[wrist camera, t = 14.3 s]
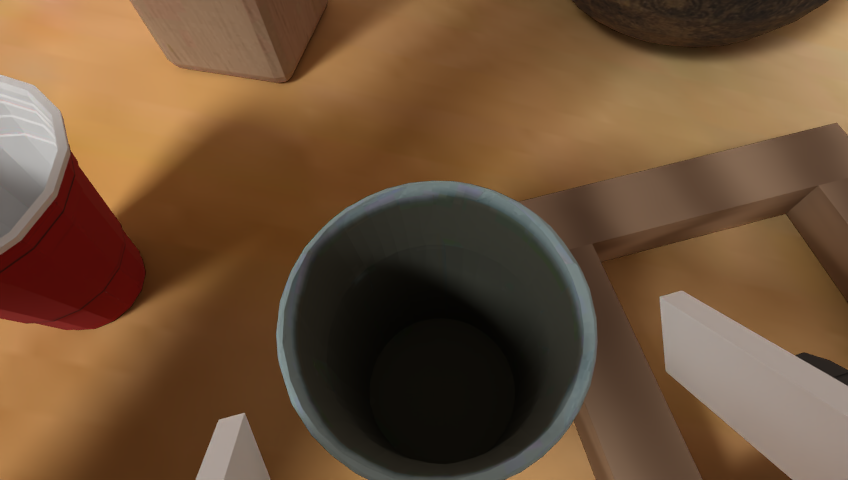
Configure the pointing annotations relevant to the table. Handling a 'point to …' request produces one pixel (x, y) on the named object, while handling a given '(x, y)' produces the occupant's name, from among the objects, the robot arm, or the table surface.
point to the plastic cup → (56, 225)
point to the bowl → (696, 18)
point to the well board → (672, 222)
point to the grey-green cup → (437, 335)
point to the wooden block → (233, 34)
